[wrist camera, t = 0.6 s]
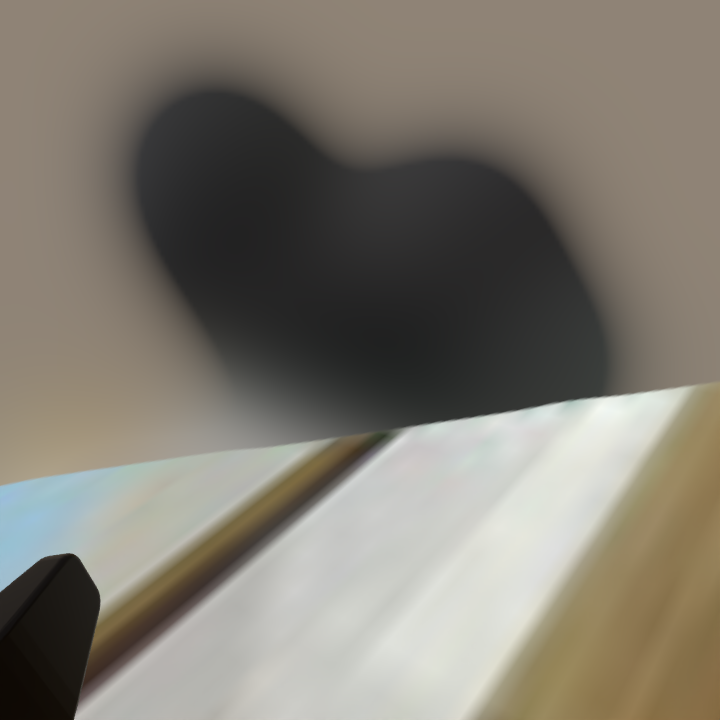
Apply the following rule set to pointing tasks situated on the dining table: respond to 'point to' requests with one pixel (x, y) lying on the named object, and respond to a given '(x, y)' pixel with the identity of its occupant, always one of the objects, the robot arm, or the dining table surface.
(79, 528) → the dining table surface
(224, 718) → the dining table surface
